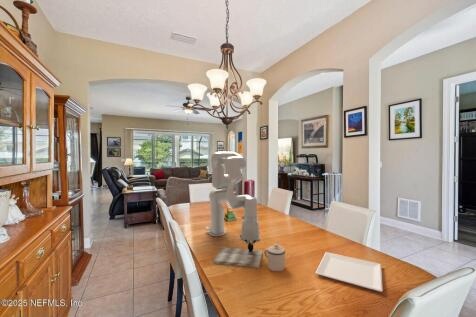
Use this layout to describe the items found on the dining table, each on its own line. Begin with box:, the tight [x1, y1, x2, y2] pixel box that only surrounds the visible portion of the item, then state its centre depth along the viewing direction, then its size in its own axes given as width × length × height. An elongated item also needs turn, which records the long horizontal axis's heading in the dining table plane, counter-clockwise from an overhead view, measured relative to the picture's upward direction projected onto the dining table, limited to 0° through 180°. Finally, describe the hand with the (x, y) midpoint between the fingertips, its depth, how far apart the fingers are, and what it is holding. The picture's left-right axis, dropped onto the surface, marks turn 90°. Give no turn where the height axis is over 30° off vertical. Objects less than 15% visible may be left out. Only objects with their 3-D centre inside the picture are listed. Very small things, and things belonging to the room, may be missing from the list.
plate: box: [315, 251, 383, 293], centre depth 105 cm, size 26×26×2 cm
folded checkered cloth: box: [219, 246, 263, 259], centre depth 124 cm, size 24×6×2 cm, turn 78°
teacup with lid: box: [263, 243, 286, 272], centre depth 110 cm, size 12×9×12 cm
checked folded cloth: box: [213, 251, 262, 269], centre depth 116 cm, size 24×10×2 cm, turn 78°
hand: (250, 250), depth 124 cm, fingers closed
